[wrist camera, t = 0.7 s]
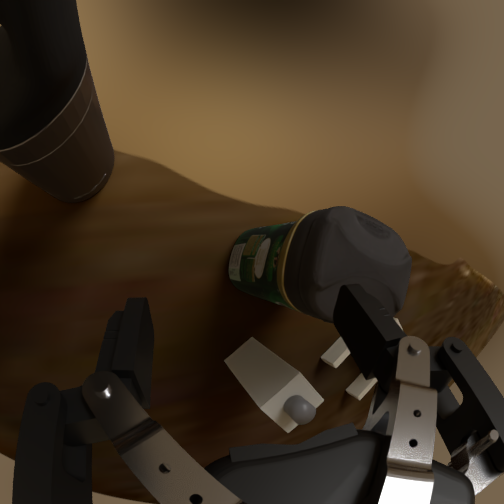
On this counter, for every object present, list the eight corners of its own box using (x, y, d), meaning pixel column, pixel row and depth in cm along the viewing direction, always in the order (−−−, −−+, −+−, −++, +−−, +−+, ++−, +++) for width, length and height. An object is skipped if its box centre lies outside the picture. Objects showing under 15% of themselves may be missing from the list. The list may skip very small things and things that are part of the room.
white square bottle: (223, 360, 32) (269, 419, 19) (252, 336, 33) (312, 380, 20) (246, 383, 33) (298, 444, 20) (272, 360, 34) (336, 409, 21)
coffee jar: (307, 244, 36) (427, 235, 18) (292, 305, 35) (407, 340, 17) (237, 220, 33) (331, 181, 15) (218, 286, 32) (298, 321, 14)
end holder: (320, 357, 36) (351, 373, 30) (363, 311, 39) (397, 318, 32) (348, 393, 38) (377, 410, 32) (385, 350, 41) (416, 361, 34)
